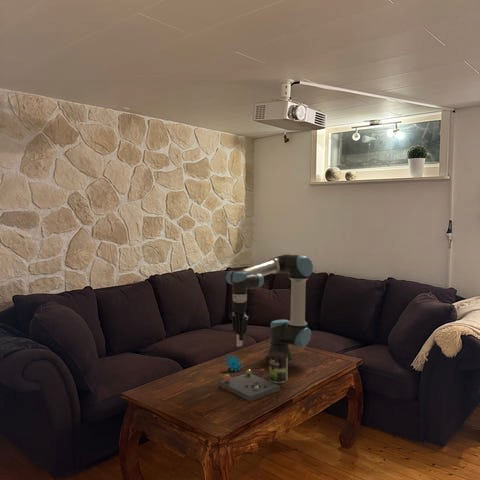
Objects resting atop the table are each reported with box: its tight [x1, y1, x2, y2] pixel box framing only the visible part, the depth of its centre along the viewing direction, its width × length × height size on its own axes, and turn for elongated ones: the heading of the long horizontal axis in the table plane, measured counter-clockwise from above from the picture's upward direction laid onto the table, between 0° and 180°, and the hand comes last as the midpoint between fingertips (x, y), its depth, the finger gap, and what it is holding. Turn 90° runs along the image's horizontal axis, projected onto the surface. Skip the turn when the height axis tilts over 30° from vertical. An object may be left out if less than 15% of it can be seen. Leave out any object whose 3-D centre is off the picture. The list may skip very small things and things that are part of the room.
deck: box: [219, 373, 281, 402], centre depth 229 cm, size 24×20×2 cm
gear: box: [225, 354, 244, 372], centre depth 257 cm, size 11×6×10 cm
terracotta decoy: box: [222, 373, 232, 382], centre depth 231 cm, size 4×4×4 cm
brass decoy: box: [245, 368, 253, 375], centre depth 241 cm, size 3×3×3 cm
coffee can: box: [268, 351, 289, 384], centre depth 241 cm, size 10×10×14 cm
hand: (239, 345), depth 234 cm, fingers closed
